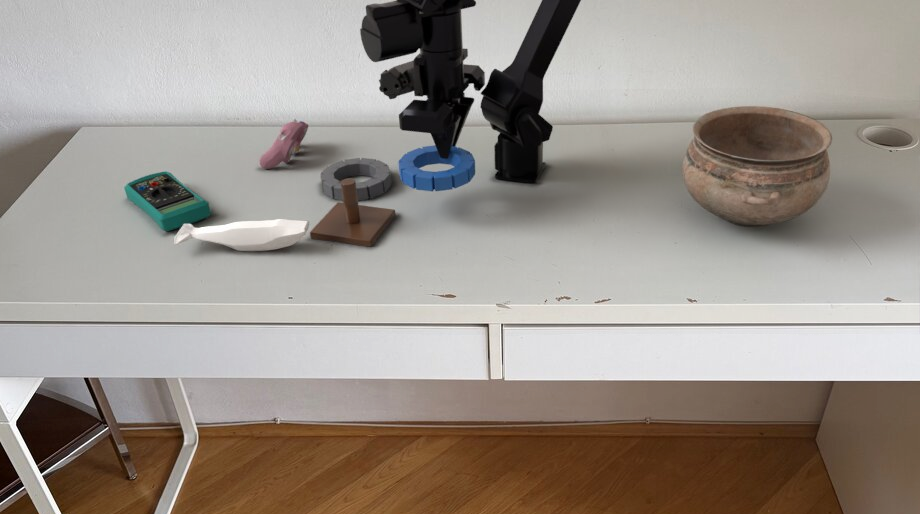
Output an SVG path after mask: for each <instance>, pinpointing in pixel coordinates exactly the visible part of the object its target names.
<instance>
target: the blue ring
mask: <svg viewBox="0 0 920 514" xmlns="http://www.w3.org/2000/svg"><path fill="white" fill-rule="evenodd" d="M397 163H398V172H399V173H398V174H399V178H400V180H401V183H403V185H405V186H407V187H409V188H411V189H413V190H418V191H425V192H442V191H451V190H453V189H455V190H456V189H458V188H460V187H463V186H465V185H467V184H469V183H470V182H471V181H472V179H473V178H474V177H475V175H476V160H475V158H474V155H473V154H472V153H471V152H470V151H469V150H466V149H464V148H463V147H459V146H458V147H457V145H456V146H452V148H451V151H450V154H449V157H448V158H447V159H443V158H441V157H440V155H439V153H438V150H437V148H436V145H435V144H434V145H426V146H421V147H418V148H415V149H412V150H410V151H408V152H406V153H404V154H403V155H402V157H401V158H399V160H398V162H397ZM431 165H450V166H452V167H451V168H449V169H446V170H438V171H432V170H431V171H430V170H423V169H421V168H424V167H426V166H431Z"/></svg>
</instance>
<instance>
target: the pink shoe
mask: <svg viewBox="0 0 920 514" xmlns="http://www.w3.org/2000/svg"><path fill="white" fill-rule="evenodd" d="M308 129H309V124H308V123H306V122H305V121H301V120H297V119H296V118H294V119H293V120H292V121H290V122H287V123H286V124H284V125H282V126H281V129H280V131H279V134H278V135H277V137H276V139H275V140H274V142H273V143H272V145H271V146H270V147H269V149H267V150H266V151H265V152H264V153H263V154H262V155H261V156H260V158H259V160H258V161H259V166H260V168H262V169H265V170H269V169H274V168H276V167H277V166H279V165H280V164H281V163H285V164H288V163H289V162H290V160H291V158H292V156H294V155H296V154H297V152H300V149H301V147H300V146H301V143H302V142H303V140H304V139H305V137H306V135H307V132H308Z"/></svg>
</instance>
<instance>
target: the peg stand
mask: <svg viewBox="0 0 920 514" xmlns="http://www.w3.org/2000/svg"><path fill="white" fill-rule="evenodd" d="M340 182H341V189H342V196H343V200H342V202H340V201H339V202H336V203H335V205H334V206H333V207H332V208H331V209H330V210H329V211H328V212H327V213H326V214H325V216H323V218H322V219H320V221H318V223H317V224H316V225H315V226H314V227H313V228H312V229H311V230H310V232H309V236H310V239H314V240H321V241H328V242H333V243H334V242H335V243H341V244H347V245H348V244H349V245H355V246H361V247H368V248H370V247H372V245H374V243H375V242H376V241H377V240H378V238H379V237H380V236H381V235H382V233H383V232H384V231H385V229H386V228H387V227H388V226H389V225H390V224H391V222H392V221H393V219H394V218H395V217H396V215H397V214H396V209H392V208H385V207H379V206H378V207H377V206H369V205H363V204H362V205H361V204H359V200H358V198H357V190H356V183H357V181H356V179H354V178H351V177H346V178H344V179H341V180H340Z"/></svg>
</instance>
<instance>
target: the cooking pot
mask: <svg viewBox="0 0 920 514" xmlns="http://www.w3.org/2000/svg"><path fill="white" fill-rule="evenodd" d="M692 134H693V138H692V139H691V141H690V143H689V145H688V147H687V149H686V152H685V154H684V156H683V162H682V167H681V169H682V170H681V173H682V178H683V181H684V185H685V187H686V190H687V192H688V193H689V195H690V196H691V197H692V199H693V200H694V201H695V202H696V203H697V204H698V205H700V207H702V208H703V209H705V210H706V211H707V212H709V213H710V214H712V215H715V216H717V217H719V218H721V219H724V221H725V220H726V221H727V222H729V223H731V224H733V225H737V226H740V227H748V228H749V227H750V228H753V227H755V228H757V227H762V226H766V225H772V224H777V223H783V222H785V221H789V220H792V219H794V218H797V217H799V216H801V215H803V214H805V213H806V212H808V211H809V210H810V209H812V208H813V207H814V206H815V205H817V203H818V202H819V201H820V199H821V198H822V197H823V195H824V194H825V192H826V191H827V189H828V187H829V181H830V178H831V165H830V163H831V162H830V157H829V156H830V155H829V152H828V151H829V150H828V149H829V147H830V146H831V145H832V141H833V135H832V133H831V131H830V129H829V128H828V127H827V126H826V125H824V124H823V123H821V122H820V121H818V120H817V119H815V118H813V117H810V116H809V115H805V114H803V113H800V112H797V111H792V110H789V109H784V108H779V107H771V106H760V105H758V106H757V105H741V106H732V107H731V106H730V107H724V108H720V109H715V110H712V111H709V112H707V113H704V114H703V115H701V116H699V117H698V118H697V119H696V120H695V121H694V123H693V124H692Z"/></svg>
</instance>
